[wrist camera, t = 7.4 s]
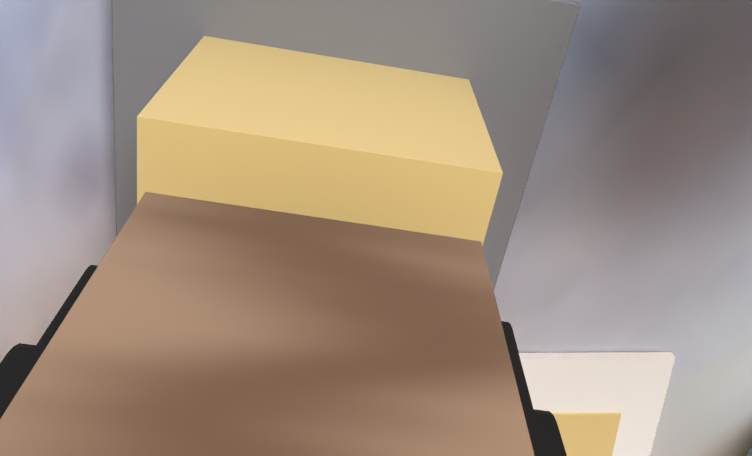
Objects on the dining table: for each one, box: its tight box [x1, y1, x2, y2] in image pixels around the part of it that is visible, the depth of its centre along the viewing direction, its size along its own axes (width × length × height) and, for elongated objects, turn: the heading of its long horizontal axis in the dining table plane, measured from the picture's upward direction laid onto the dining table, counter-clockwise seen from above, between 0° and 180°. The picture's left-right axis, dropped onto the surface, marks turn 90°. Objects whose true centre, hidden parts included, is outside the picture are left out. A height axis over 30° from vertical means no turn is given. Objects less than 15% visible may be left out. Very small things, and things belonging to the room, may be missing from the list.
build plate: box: [112, 0, 580, 291], centre depth 16 cm, size 10×10×6 cm
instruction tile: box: [519, 352, 675, 456], centre depth 23 cm, size 10×7×1 cm
